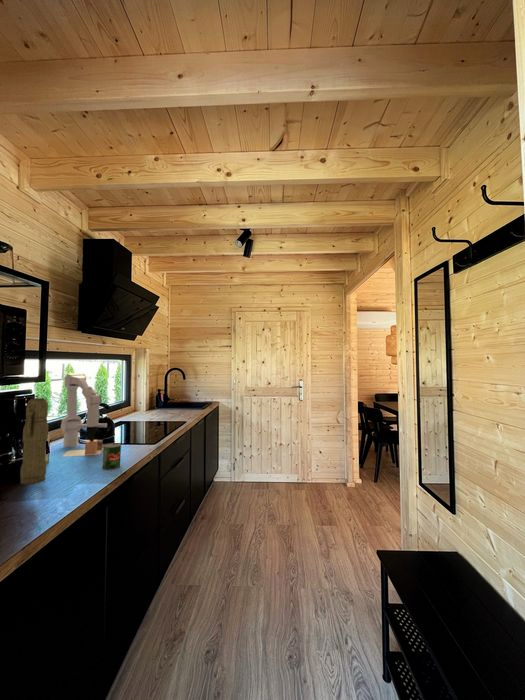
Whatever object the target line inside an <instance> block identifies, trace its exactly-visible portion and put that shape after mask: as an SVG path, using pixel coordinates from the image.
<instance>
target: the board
mask: <svg viewBox="0 0 525 700" xmlns="http://www.w3.org/2000/svg"><path fill="white" fill-rule="evenodd" d="M101 453H103V448H102V450H97V452H96V454H86V455H85V449H71V450H67V451H66V452H65V453H64V454H63V455H62V457H64V458H65V457H79V456H81V457H82V456H92V455H93V456H94V455H95V456H96V455H101Z"/></svg>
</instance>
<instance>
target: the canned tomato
mask: <svg viewBox="0 0 525 700" xmlns="http://www.w3.org/2000/svg"><path fill="white" fill-rule="evenodd" d="M102 449H103V450H102V453H103V454H102V470H103V471H114V470H117V469H120V467H121V457H122V455H121V454H122V453H121V451H122V443H120V442H110V443H109V442H108V443H106V444H103V447H102Z"/></svg>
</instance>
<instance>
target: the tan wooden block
mask: <svg viewBox="0 0 525 700" xmlns="http://www.w3.org/2000/svg"><path fill="white" fill-rule="evenodd" d="M98 440H99V439H94V440H93V441H90V439H87V440H86V441H85V442H84V450H85V455H84V456H87V455H86V454H96V452H97V444H98Z"/></svg>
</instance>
